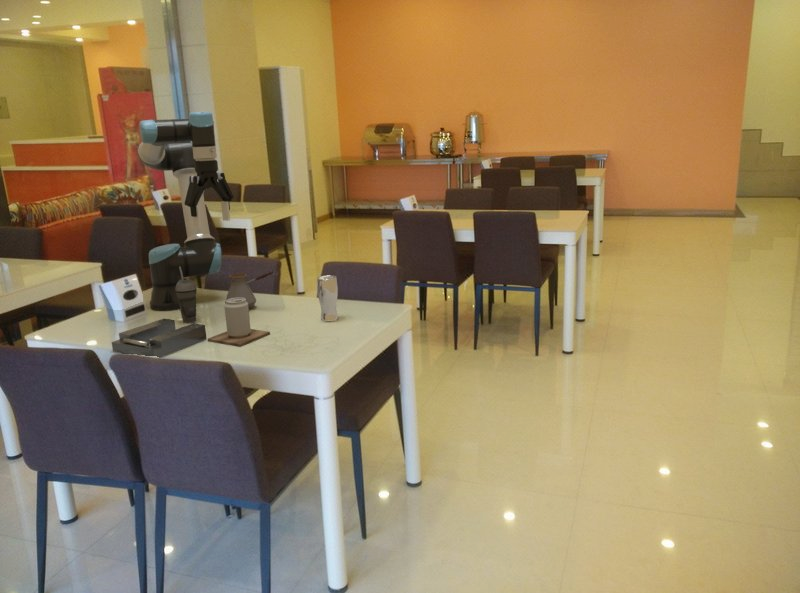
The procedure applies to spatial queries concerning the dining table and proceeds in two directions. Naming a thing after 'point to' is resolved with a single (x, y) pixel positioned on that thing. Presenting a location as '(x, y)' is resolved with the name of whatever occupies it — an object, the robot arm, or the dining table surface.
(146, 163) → the robot arm
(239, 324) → the can
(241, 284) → the coffee pot
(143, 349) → the grey stepped tray
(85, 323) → the dining table surface
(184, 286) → the beverage cup
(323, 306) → the beer glass
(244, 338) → the walnut board
